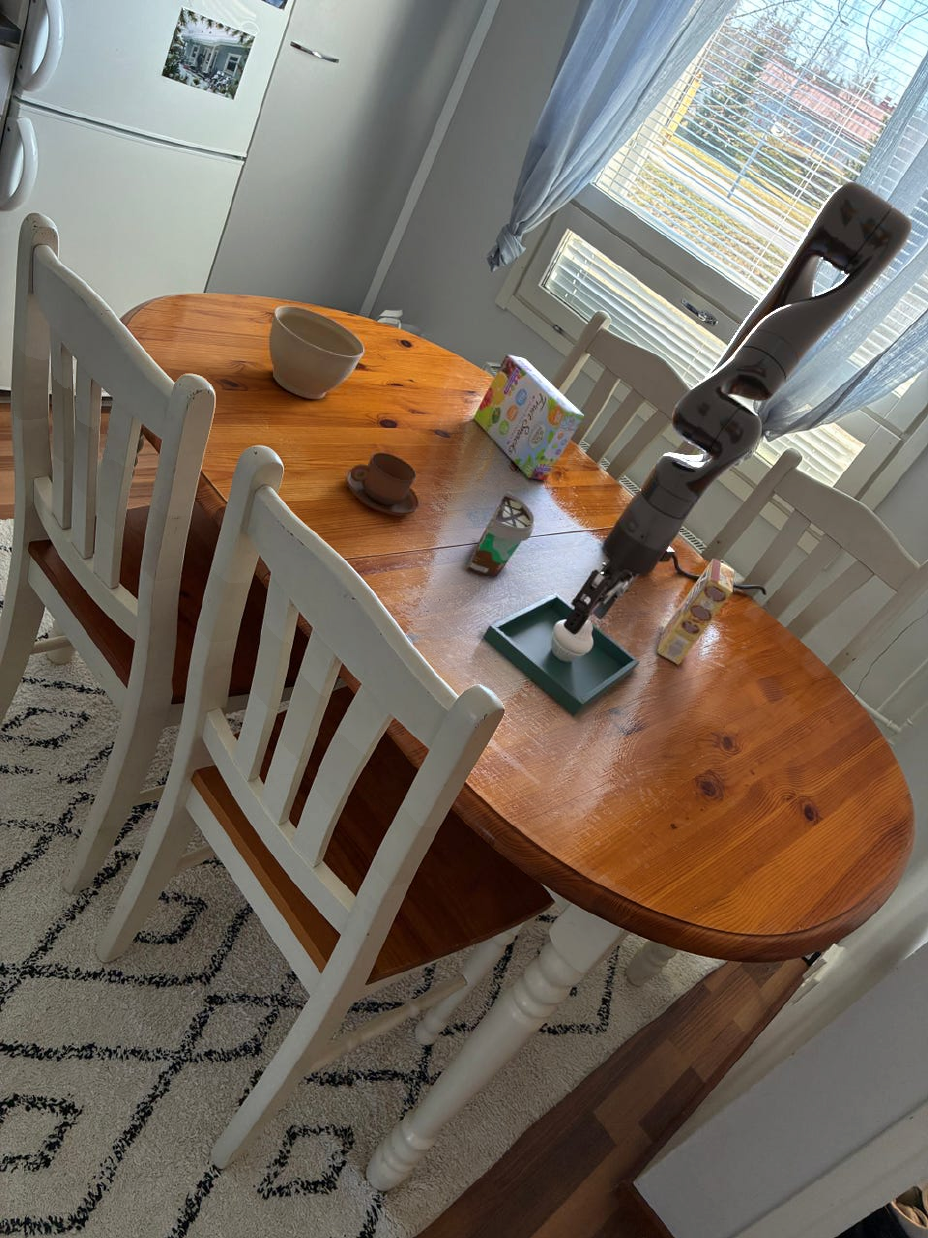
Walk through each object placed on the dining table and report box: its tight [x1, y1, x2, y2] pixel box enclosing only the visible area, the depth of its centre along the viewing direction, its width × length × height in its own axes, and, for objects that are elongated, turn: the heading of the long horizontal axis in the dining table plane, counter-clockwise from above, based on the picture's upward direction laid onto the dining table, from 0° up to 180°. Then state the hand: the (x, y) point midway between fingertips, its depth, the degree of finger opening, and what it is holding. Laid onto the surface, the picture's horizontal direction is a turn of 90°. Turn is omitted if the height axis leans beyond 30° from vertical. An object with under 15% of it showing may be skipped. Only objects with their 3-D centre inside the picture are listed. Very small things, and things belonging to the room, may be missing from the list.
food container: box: [466, 490, 535, 578], centre depth 144 cm, size 12×6×10 cm, turn 168°
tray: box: [482, 592, 641, 717], centre depth 134 cm, size 20×17×2 cm
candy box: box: [657, 558, 735, 666], centre depth 148 cm, size 9×4×15 cm, turn 162°
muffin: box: [551, 618, 593, 662], centre depth 133 cm, size 6×6×7 cm
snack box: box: [473, 354, 585, 481], centre depth 183 cm, size 21×6×15 cm, turn 34°
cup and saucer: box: [346, 452, 420, 517], centre depth 145 cm, size 12×12×6 cm
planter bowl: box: [268, 305, 365, 400], centre depth 163 cm, size 16×16×11 cm
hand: (583, 622), depth 131 cm, fingers open, 8 cm apart
